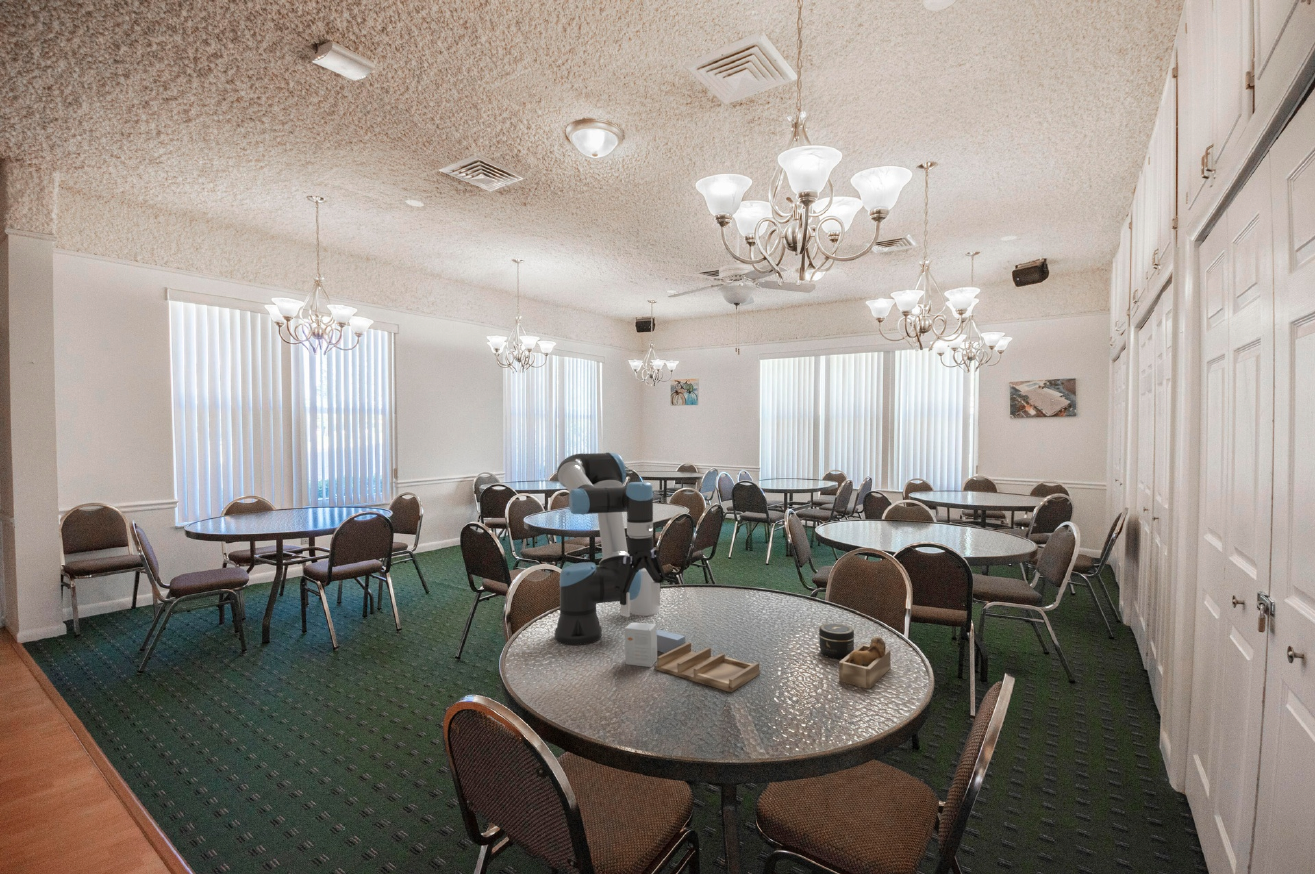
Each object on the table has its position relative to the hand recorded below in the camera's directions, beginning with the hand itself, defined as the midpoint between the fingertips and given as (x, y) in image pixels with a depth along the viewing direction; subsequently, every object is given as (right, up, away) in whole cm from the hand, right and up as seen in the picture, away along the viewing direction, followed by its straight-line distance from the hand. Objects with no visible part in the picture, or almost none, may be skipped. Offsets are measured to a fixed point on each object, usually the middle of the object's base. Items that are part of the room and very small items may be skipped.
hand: (641, 610), depth 169 cm
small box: (0, -15, 0) cm, 15 cm away
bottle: (0, -15, +50) cm, 52 cm away
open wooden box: (+61, -15, -10) cm, 63 cm away
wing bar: (+8, -15, +10) cm, 19 cm away
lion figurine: (+61, -15, -10) cm, 63 cm away
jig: (+18, -15, -7) cm, 24 cm away
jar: (+58, -15, +6) cm, 60 cm away
